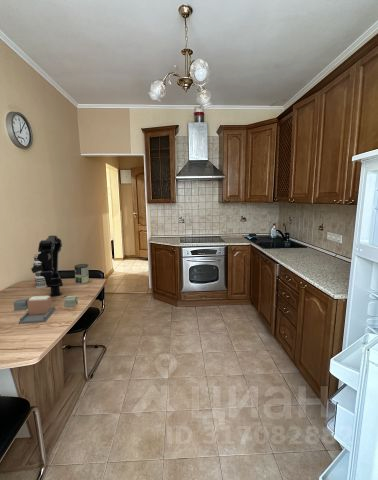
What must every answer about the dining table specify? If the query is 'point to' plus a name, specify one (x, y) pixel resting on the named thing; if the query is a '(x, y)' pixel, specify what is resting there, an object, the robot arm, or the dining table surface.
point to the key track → (36, 317)
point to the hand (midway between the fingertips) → (47, 285)
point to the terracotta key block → (39, 305)
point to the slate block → (21, 304)
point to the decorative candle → (39, 279)
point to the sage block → (70, 301)
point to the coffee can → (81, 273)
